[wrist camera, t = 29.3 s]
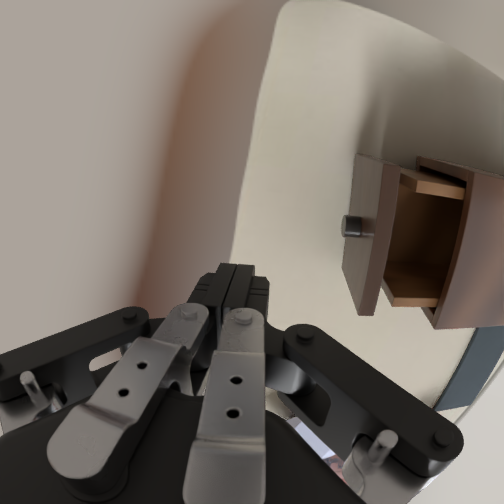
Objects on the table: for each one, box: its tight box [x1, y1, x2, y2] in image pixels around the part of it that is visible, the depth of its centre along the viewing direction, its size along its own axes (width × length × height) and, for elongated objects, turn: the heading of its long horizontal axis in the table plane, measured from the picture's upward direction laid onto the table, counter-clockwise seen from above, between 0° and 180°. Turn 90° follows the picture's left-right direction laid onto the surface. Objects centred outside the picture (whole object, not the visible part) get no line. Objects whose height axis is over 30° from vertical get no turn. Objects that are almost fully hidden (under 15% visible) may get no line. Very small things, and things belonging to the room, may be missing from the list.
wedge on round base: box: [285, 417, 335, 459], centre depth 35 cm, size 9×7×13 cm
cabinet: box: [416, 156, 504, 330], centre depth 20 cm, size 14×12×10 cm
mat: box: [433, 325, 504, 411], centre depth 30 cm, size 22×8×1 cm, turn 179°
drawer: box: [341, 154, 467, 316], centre depth 21 cm, size 14×10×8 cm
